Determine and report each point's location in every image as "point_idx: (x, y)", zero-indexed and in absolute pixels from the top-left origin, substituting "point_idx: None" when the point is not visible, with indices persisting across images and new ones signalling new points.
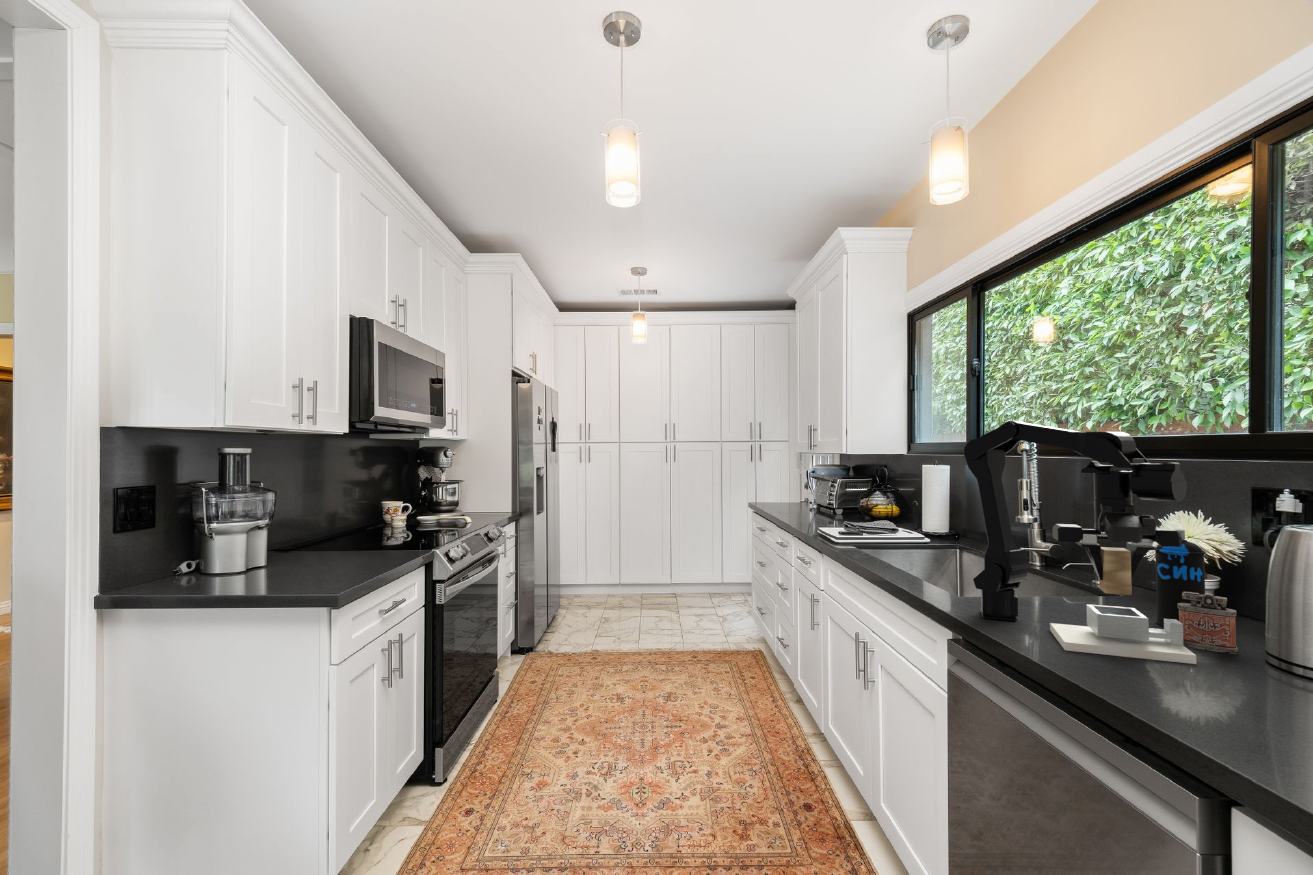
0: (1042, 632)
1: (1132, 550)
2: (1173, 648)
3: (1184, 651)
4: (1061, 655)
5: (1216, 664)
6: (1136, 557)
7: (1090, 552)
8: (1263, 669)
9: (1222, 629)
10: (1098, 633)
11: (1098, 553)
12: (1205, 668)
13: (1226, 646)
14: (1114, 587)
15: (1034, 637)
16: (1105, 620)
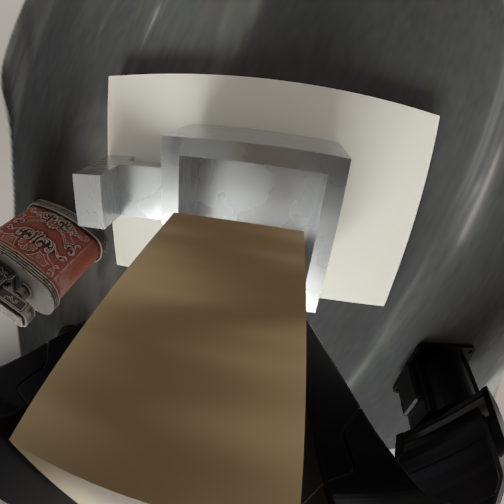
0: (409, 272)
1: (15, 457)
2: (138, 122)
3: (122, 101)
4: (453, 68)
5: (82, 95)
6: (14, 387)
7: (422, 490)
8: (24, 101)
9: (18, 225)
10: (337, 142)
11: (344, 491)
12: (115, 49)
13: (38, 207)
14: (251, 242)
15: (452, 223)
16: (319, 147)
